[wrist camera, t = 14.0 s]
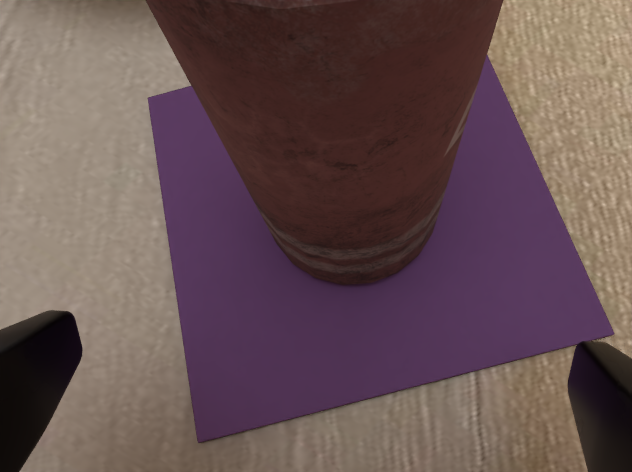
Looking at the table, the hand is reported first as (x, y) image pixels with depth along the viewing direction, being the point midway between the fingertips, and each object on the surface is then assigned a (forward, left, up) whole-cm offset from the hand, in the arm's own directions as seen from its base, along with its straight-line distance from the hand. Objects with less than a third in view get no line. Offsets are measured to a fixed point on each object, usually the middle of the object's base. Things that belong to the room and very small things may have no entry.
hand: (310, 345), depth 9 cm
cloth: (+2, +6, -9) cm, 11 cm away
